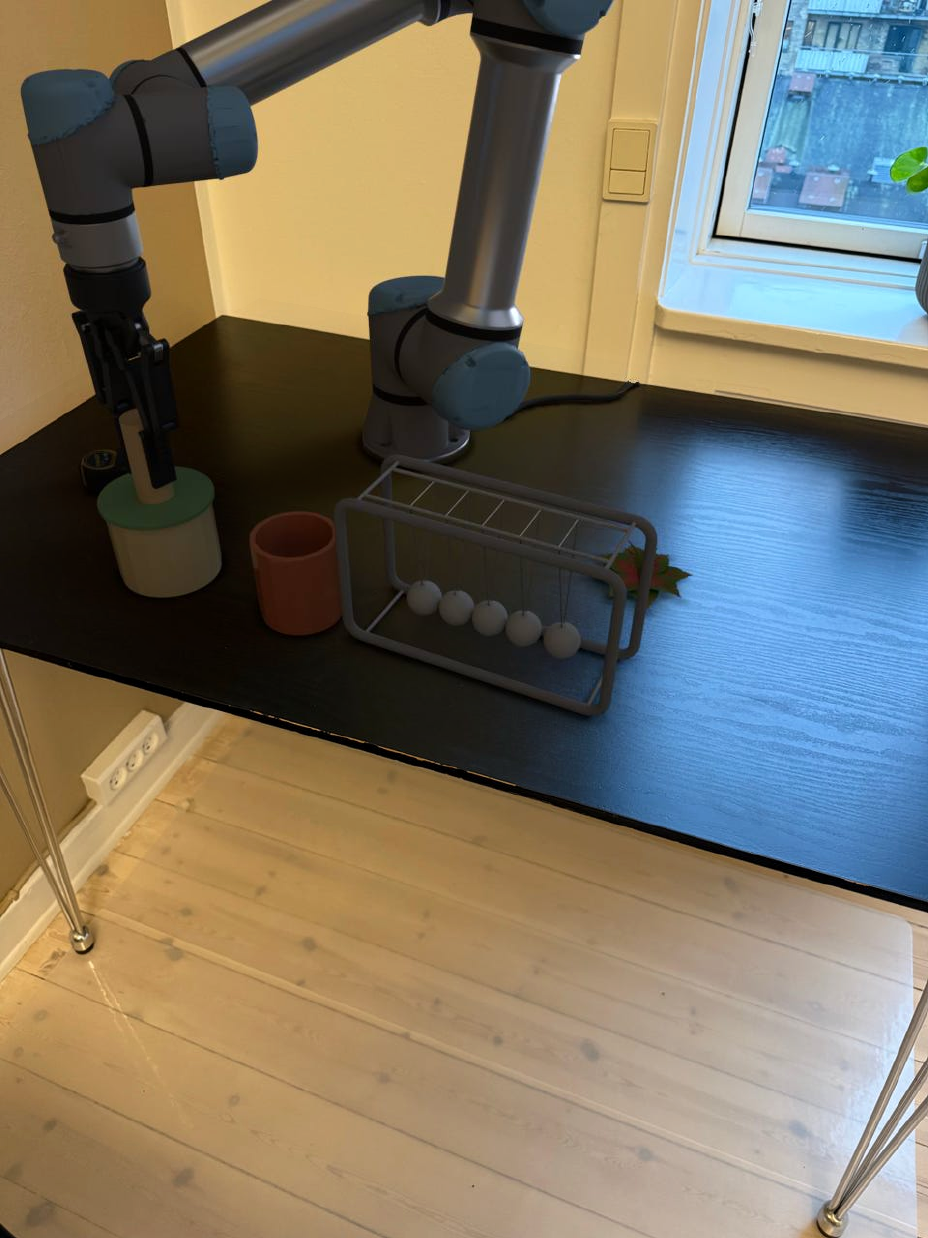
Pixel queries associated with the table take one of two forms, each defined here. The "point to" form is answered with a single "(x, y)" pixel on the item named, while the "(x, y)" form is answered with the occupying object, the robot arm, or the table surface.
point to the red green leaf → (630, 570)
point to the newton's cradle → (491, 614)
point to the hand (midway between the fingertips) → (151, 475)
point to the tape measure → (101, 468)
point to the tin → (169, 556)
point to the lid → (151, 490)
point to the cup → (296, 572)
